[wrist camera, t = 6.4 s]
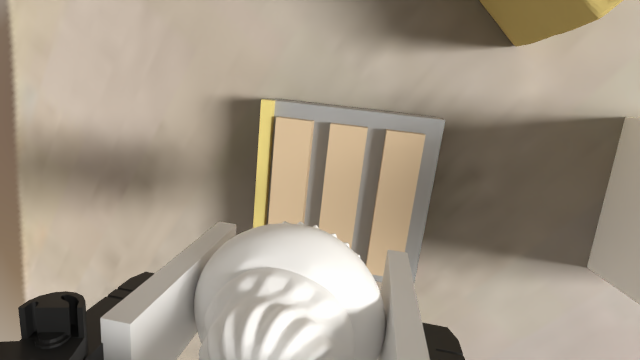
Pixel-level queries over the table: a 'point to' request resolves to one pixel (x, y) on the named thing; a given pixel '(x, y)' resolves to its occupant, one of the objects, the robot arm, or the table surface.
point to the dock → (348, 175)
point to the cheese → (544, 16)
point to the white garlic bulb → (288, 298)
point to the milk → (621, 218)
